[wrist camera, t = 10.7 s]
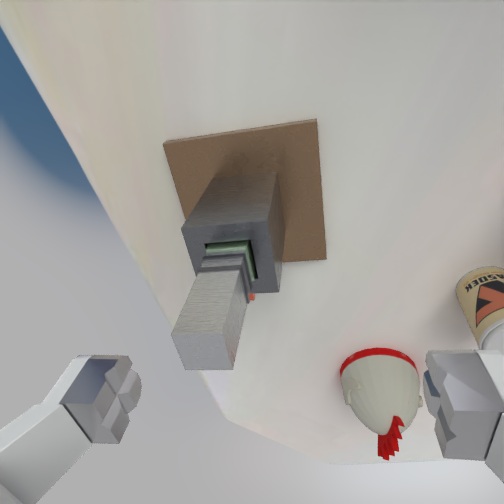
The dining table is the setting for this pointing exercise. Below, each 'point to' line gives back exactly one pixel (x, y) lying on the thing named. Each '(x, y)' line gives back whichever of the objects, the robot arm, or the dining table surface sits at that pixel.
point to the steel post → (216, 307)
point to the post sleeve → (252, 195)
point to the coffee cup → (484, 305)
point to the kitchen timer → (382, 393)
